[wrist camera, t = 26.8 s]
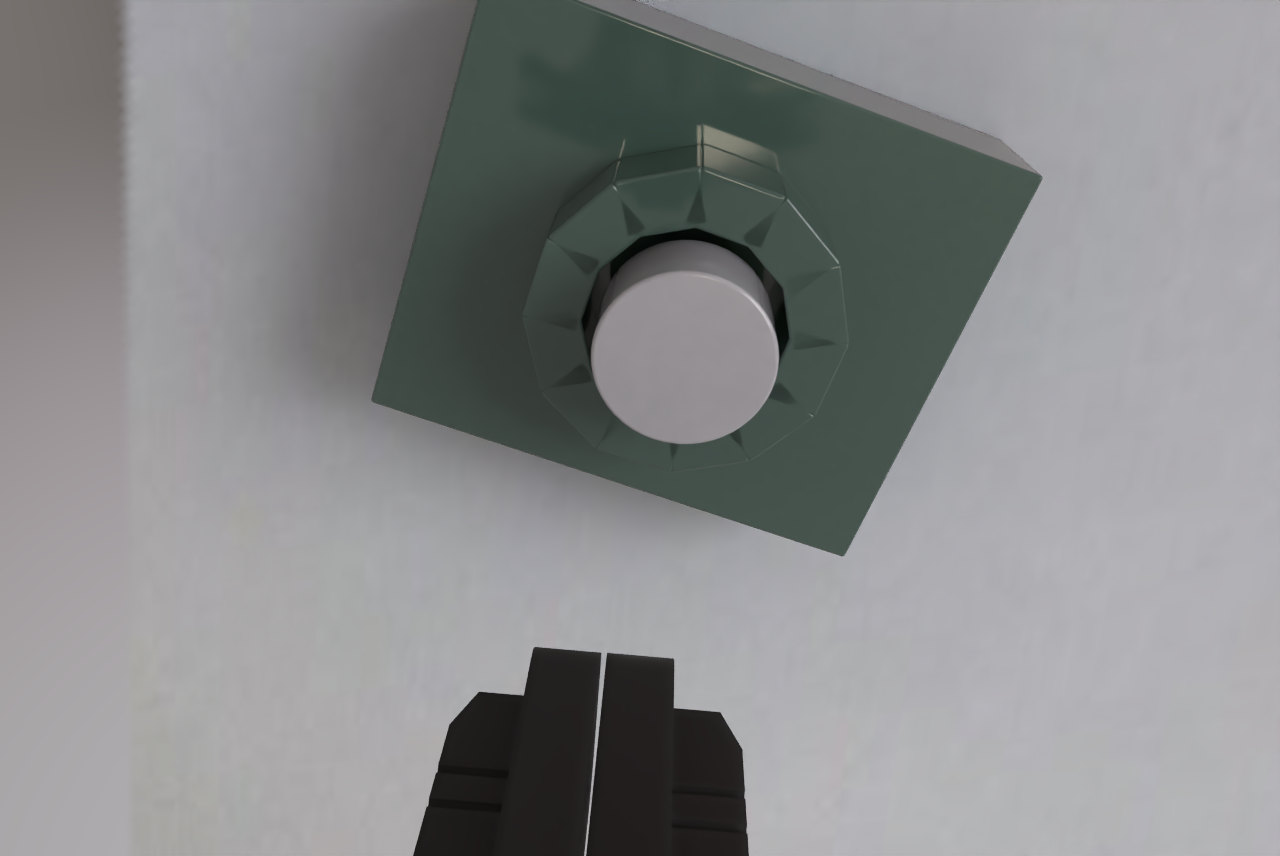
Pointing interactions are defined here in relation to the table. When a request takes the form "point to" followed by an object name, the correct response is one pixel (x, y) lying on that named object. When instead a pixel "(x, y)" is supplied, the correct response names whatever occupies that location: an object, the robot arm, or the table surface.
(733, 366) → the grey knob
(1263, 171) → the table surface
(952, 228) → the green knob base
